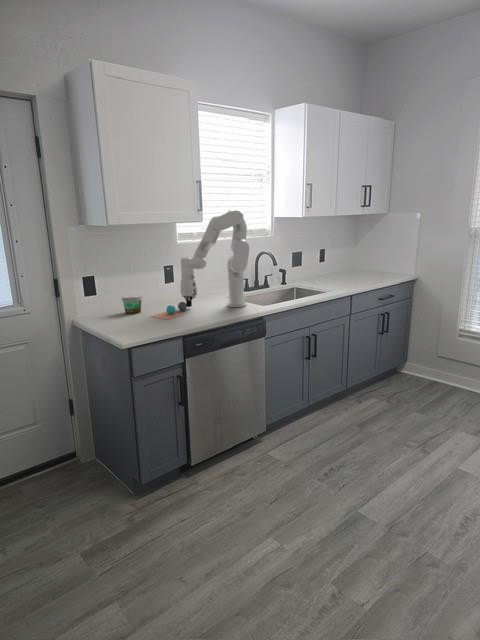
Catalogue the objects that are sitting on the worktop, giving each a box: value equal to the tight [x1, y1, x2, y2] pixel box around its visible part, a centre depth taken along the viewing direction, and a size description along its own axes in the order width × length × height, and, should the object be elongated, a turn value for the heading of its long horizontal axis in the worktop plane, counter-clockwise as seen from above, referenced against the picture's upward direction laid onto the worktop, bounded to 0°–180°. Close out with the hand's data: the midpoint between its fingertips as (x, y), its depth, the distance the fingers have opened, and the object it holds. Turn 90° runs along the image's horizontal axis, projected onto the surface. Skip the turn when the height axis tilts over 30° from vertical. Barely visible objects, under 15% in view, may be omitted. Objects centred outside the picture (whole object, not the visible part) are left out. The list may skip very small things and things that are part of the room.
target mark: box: [149, 310, 184, 320], centre depth 254 cm, size 14×14×1 cm
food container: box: [121, 296, 143, 315], centre depth 260 cm, size 12×6×10 cm, turn 92°
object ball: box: [165, 304, 177, 314], centre depth 256 cm, size 6×6×6 cm
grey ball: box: [177, 301, 188, 312], centre depth 265 cm, size 6×6×6 cm
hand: (189, 306), depth 270 cm, fingers closed
